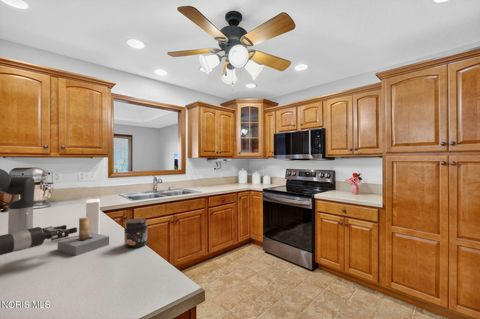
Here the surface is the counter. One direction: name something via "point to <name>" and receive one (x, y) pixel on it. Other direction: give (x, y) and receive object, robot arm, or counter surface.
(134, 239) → the supplement container
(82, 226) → the peg
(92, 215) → the white tall block
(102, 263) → the counter surface
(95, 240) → the board
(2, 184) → the robot arm
